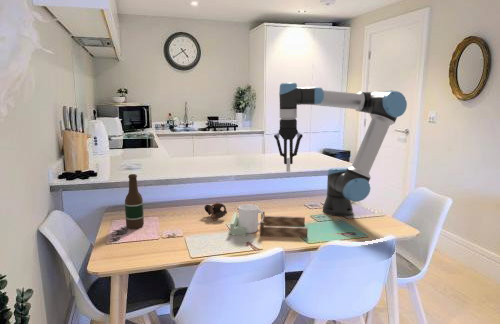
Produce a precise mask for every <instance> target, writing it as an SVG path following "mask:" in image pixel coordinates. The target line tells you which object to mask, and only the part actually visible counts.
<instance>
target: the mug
mask: <svg viewBox="0 0 500 324" xmlns="http://www.w3.org/2000/svg"><path fill="white" fill-rule="evenodd" d="M262 211H263V210H261V209H260V208H259V206H258V205H255V204H251V203H248V204H241V205H240V204H239V206H238V217H239V224H237V227H245V228H246V234H255V233H256V232H257V231H258V229H259V226H260V221H263V218H264V214H263V212H262ZM259 214H260V215H261V214H262V215H263V218H262V220H260V221H259Z"/></svg>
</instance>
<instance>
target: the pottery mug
mask: <svg viewBox="0 0 500 324" xmlns="http://www.w3.org/2000/svg"><path fill="white" fill-rule="evenodd" d="M221 208H223V210H222V209H221ZM204 211H205V212H206V213H207V214H208V215H209V216H211V220H212V221H215V220H217V219H222V218H223V217H224V216H226V215H227V214H228V212H227V207H226V205H224V204H223V203H220V202H215V203H213V204H211V205H210V204H205V206H204Z"/></svg>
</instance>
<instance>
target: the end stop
mask: <svg viewBox="0 0 500 324" xmlns="http://www.w3.org/2000/svg"><path fill="white" fill-rule="evenodd" d="M236 225H237V226H236ZM238 225H239V216H238V212H233V215H232V218H231V221H230V225H229V226H230V229H229V231H230V232H229V233H230V234H235V235H234V236H246V234H247V233H246V228H245V227H238ZM230 234H229V235H230Z"/></svg>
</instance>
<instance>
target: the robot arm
mask: <svg viewBox="0 0 500 324" xmlns="http://www.w3.org/2000/svg"><path fill="white" fill-rule="evenodd" d="M278 93H279V94H278V96H279V118H280V119H279V129H278V132H277V133H274V134H273V137H274V139H275V140H276V145H277V148H278V152H279V156H280V157H283V163H284V165H286V170H285V171H286V172H287V173H289V172H291V165H293V163H294V162H293V158H294V157H295V156H297V155H298V151H299V147H300V143H301V140H302V138H303V134H302V133H300V132H299V131H298V128H297V127H298V126H297V125H298V124H297V123H298V121H297V118H298V111H297V110H298V106H299V105H300V106H301V105H304V106H305V105H307V106H308V105H309V106H320V107H329V108H332V107H333V108H341V109H351V110H355V112H360V113H366V114H369V116H370V118H371V120H370V122H369V124H368V127H367V129H366V132H365V134H364V136H363V139H362V141H361V143H360V146H359V147H358V151H357V153H356V155H355V158H354V160H353V162H352V164H351V165H350V166H348V167H331V168H329V169H328V170H327V175H326V176H327V182H326V184H327V186H326V187H327V188H326V197H325V200H324V203H323V204H322V212H323V213H325V214H327V215H330V216H335V217H347V216H351V215H352V214H353V211H354V210H353V208H354V207H353V204H352V202H357V203H358V202H361V201H364V200H365V199H366V198H367V197H368V196H369V194H370V192H371V186H370V185H371V184H370V183H369V182H370V181H371V175H370V172H371V169H372V167H373V165H374V163H375V160H376V157H377V156H378V154H379V152H380V149H381V147H382V144H383V142H384V140H385V138H386V134H387V133H388V130H389V128H390V126H392V125H394V124H395V123H396V121H397V119H398V117H401V116H403V115H404V114H405V112H406V110H407V108H408V107H407V106H408V103H407V100H406V97H405V95H404V94H403V92H400V91H397V90H377V91H358V92H357V93H354V92H346V91H344V92H343V91H335V90H326V89H323V88H322V87H319V86H304V87H300V86H299V87H298V84H297V83H296V82H282V83H280V84H279V92H278ZM280 137H281V138H282V139H283V150H282V145H281V142H280ZM295 137H296V142H295V147H294V143H293V142H294V139H295ZM288 140H289V156H288V151H287V150H288Z"/></svg>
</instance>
